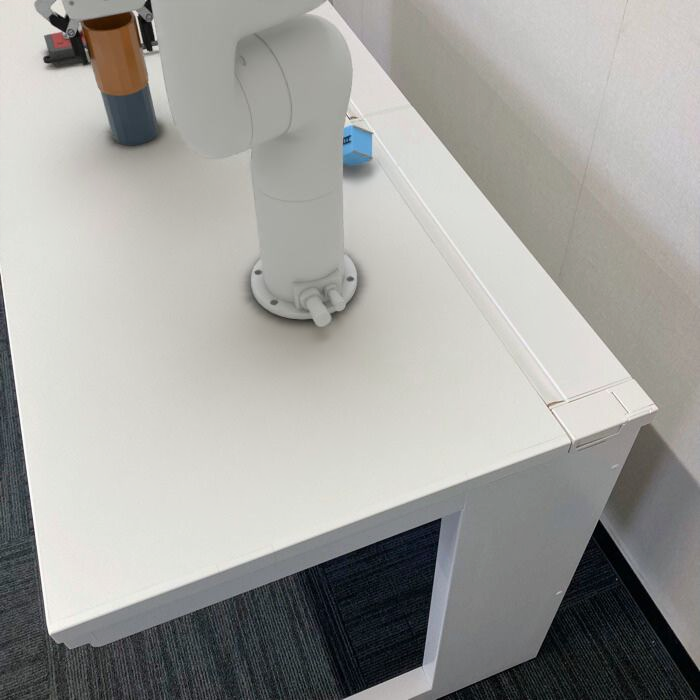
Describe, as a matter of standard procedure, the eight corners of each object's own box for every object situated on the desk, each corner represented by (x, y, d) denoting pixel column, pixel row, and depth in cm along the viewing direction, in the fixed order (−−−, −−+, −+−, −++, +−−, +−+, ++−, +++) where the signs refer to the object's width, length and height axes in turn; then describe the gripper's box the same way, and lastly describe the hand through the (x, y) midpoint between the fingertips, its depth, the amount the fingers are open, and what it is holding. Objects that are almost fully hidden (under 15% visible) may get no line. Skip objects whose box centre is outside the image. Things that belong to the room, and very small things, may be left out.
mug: (163, 139, 112) (152, 88, 106) (118, 149, 111) (104, 99, 105) (147, 107, 118) (136, 57, 112) (104, 116, 116) (90, 67, 110)
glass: (154, 89, 106) (140, 25, 100) (103, 100, 104) (85, 35, 98) (142, 65, 111) (128, 3, 104) (93, 76, 109) (75, 12, 102)
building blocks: (315, 180, 113) (374, 160, 105) (271, 166, 108) (330, 144, 99) (316, 128, 114) (374, 104, 106) (273, 112, 108) (331, 85, 100)
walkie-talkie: (48, 75, 124) (170, 52, 129) (39, 49, 121) (165, 26, 126) (41, 51, 130) (158, 29, 135) (33, 25, 127) (153, 4, 131)
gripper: (10, -64, 87) (55, 80, 100) (162, -88, 91) (186, 53, 104) (2, -86, 91) (46, 54, 104) (146, -108, 96) (171, 29, 109)
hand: (116, 53), depth 104 cm, fingers open, 8 cm apart
